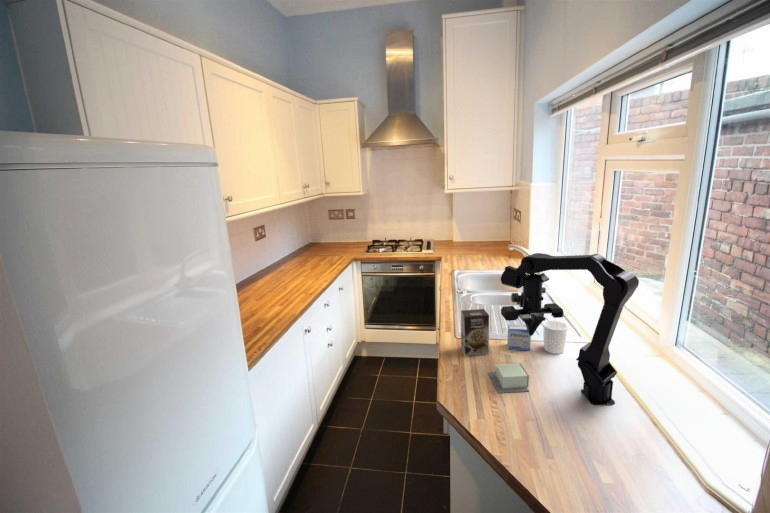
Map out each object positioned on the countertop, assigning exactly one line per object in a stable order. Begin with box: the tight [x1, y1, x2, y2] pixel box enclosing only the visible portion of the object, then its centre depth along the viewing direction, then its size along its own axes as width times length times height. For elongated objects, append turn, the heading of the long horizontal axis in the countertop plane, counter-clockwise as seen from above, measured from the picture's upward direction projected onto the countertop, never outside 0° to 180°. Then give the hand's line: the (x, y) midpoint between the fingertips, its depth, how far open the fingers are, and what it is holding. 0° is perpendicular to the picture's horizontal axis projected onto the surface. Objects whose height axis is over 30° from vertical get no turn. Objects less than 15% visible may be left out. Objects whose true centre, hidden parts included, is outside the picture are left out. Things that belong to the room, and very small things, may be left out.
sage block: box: [495, 363, 530, 388], centre depth 113 cm, size 4×7×8 cm
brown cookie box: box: [460, 308, 490, 357], centre depth 131 cm, size 9×6×16 cm
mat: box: [488, 371, 530, 394], centre depth 114 cm, size 9×11×1 cm
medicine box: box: [507, 324, 532, 351], centre depth 133 cm, size 8×4×9 cm, turn 76°
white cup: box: [542, 320, 568, 355], centre depth 129 cm, size 8×8×10 cm
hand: (530, 335), depth 118 cm, fingers closed
